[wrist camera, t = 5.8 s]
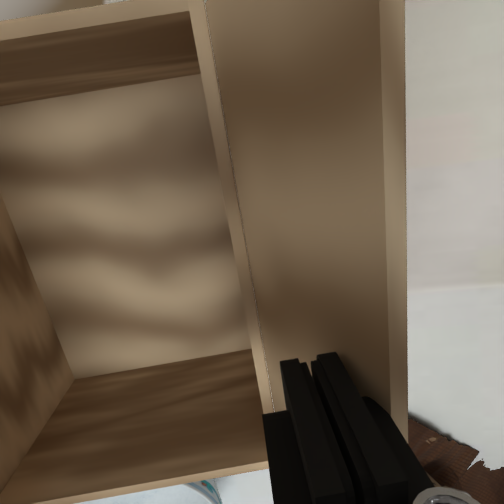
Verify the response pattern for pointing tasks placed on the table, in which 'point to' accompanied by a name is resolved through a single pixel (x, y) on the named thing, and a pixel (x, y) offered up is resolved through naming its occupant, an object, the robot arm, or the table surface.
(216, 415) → the carton
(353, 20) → the flap
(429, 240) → the table surface
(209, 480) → the chinaware
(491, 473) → the potted plant
